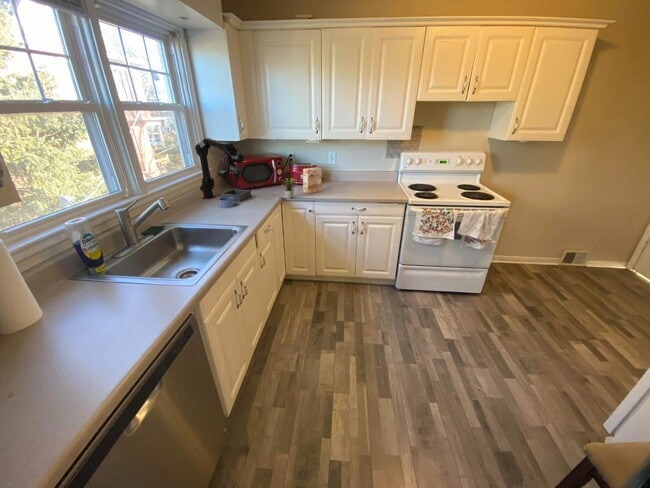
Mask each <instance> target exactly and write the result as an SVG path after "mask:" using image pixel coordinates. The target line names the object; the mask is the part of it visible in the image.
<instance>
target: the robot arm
mask: <svg viewBox="0 0 650 488" xmlns="http://www.w3.org/2000/svg"><path fill="white" fill-rule="evenodd" d="M211 147H214V148H217V149H220V150H221V151H222V153H221V154H222V156H224V159H225V163H224V166H225V167H226V169H225V170H220V171H218V176H219V177H221V178H222V180H223V181H224V183H225V184H226V186H229V185H230V184H229V177H230V176H229V175H230V174H233V176H234V179H235V183H236V184H238V183H239V181H240V177H241V175H242V174H243V173H244V167H243V166H242V165H237V164H242V163H244V160H245V159H244V155H242V152H238V150H237V149H236V147H235V146H234V143H233V142H223V141H219V140H215V139H212V138H209V137H208V138H207V137H206V138H204V139H202V140H201V141H200V142H198V143H197V144H196V145H195V146H194V149H195V152H196V154H197V156H198V157H199V161H200V166H201V172H202V179H201V185H200V187H199V190H200V191H201V192H202V195H203V197H202V199H206V200H207V199H208V200H210V199H213V198H215V195H214V192H213V190H214V188H215V179H214V178H212V176H211V172H210V165H209V161H208V155H209V149H210V148H211Z"/></svg>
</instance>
